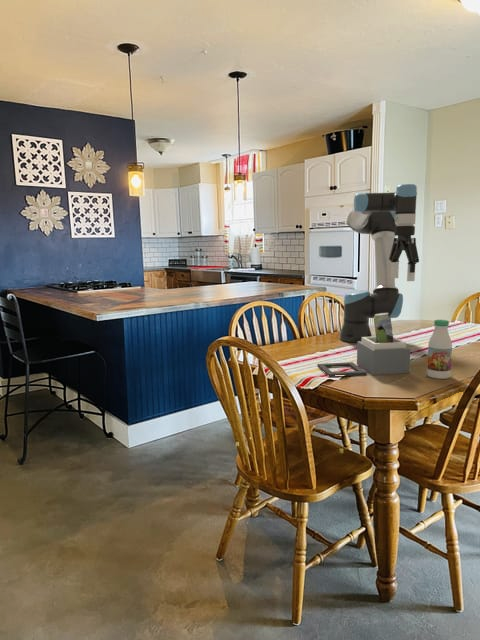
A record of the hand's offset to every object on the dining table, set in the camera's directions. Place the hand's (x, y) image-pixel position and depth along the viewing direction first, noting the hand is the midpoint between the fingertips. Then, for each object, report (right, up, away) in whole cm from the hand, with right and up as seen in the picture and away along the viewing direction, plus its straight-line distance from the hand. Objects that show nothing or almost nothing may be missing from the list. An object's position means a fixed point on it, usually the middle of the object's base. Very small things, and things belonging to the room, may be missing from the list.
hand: (402, 279), depth 188 cm
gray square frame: (-27, -35, -13) cm, 46 cm away
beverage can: (-11, -26, -12) cm, 31 cm away
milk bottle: (+5, -36, -22) cm, 42 cm away
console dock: (-11, -34, -11) cm, 38 cm away
